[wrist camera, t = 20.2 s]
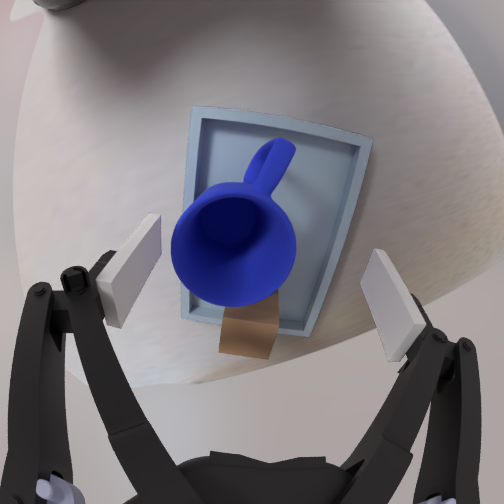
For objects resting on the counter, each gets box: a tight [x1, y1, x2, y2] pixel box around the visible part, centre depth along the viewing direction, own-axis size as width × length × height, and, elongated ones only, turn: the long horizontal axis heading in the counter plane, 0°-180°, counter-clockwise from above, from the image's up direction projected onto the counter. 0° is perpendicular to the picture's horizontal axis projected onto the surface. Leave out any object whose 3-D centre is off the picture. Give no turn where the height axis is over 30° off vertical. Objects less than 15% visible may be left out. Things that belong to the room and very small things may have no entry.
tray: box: [181, 106, 373, 337], centre depth 28 cm, size 24×16×2 cm, turn 171°
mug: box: [171, 137, 296, 307], centre depth 22 cm, size 8×12×10 cm
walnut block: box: [219, 289, 279, 359], centre depth 29 cm, size 5×5×8 cm
